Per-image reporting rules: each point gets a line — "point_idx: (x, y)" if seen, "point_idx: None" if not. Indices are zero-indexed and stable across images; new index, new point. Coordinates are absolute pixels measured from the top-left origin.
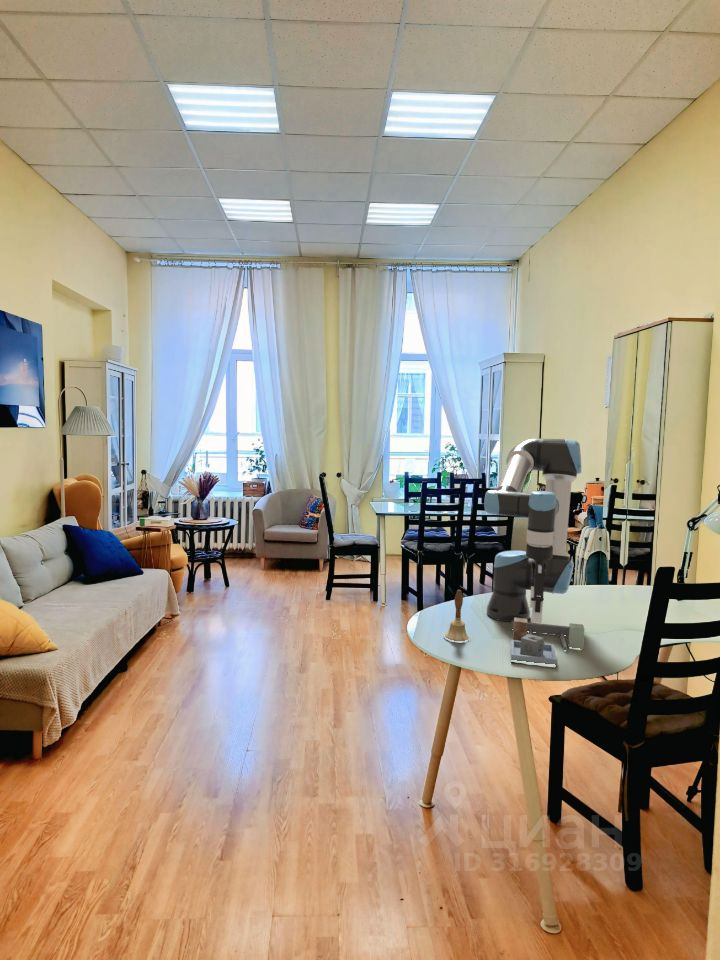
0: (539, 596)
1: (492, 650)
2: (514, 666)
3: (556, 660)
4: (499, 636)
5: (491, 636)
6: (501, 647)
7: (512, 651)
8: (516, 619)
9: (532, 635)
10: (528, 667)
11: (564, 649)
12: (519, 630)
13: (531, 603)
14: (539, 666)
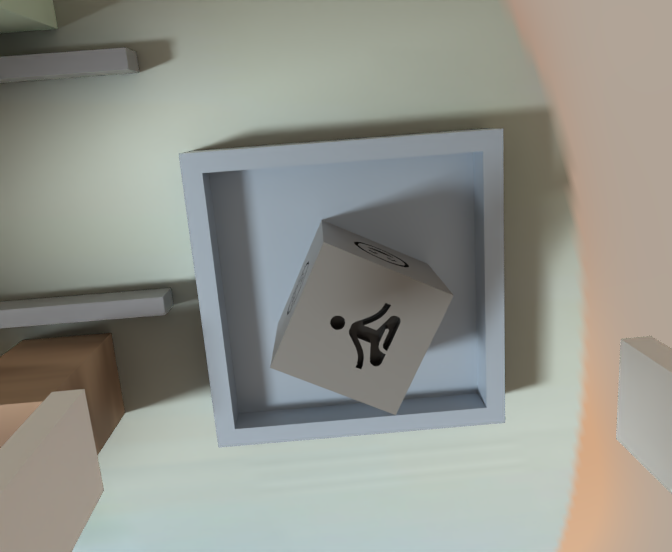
0: (15, 484)
1: (321, 510)
2: (536, 374)
3: (500, 130)
4: None
5: None
6: (246, 469)
7: (444, 420)
8: None
9: (299, 336)
10: (525, 296)
11: (134, 66)
12: None
13: (84, 509)
14: None
